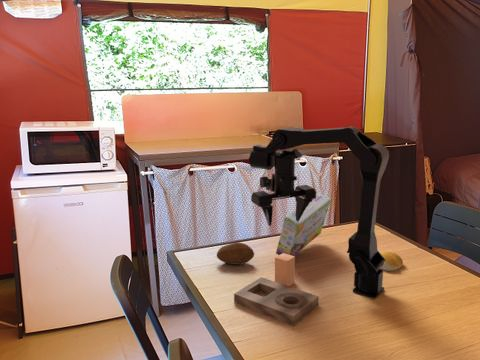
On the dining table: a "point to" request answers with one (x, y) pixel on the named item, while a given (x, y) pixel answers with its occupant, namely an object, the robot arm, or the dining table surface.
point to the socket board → (277, 300)
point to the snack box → (303, 226)
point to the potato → (235, 253)
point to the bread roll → (391, 261)
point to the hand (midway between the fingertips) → (283, 223)
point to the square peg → (285, 269)
